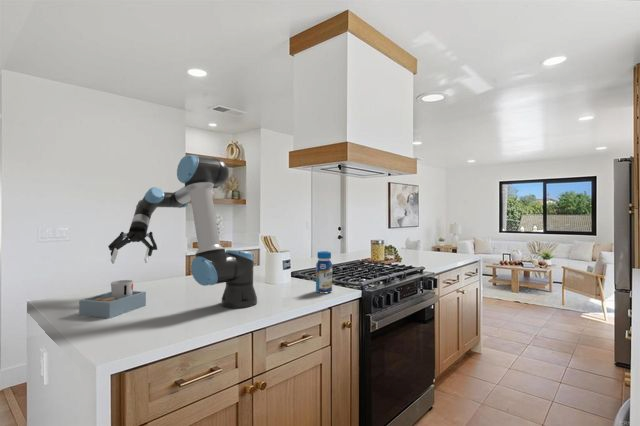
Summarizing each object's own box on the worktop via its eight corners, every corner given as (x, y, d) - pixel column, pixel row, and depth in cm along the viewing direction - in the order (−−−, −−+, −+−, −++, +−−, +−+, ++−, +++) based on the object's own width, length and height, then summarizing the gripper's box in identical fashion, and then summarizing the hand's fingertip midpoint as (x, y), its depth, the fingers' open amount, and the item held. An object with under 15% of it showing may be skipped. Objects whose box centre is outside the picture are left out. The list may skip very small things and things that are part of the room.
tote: (145, 305, 153) (145, 291, 153) (109, 318, 135) (109, 302, 135) (118, 303, 157) (118, 289, 157) (79, 315, 138) (79, 300, 138)
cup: (123, 309, 144) (123, 284, 144) (105, 308, 146) (106, 283, 146) (137, 304, 152) (137, 280, 152) (121, 303, 154) (121, 279, 154)
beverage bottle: (321, 289, 187) (322, 250, 187) (335, 291, 182) (335, 251, 182) (312, 292, 180) (312, 252, 180) (326, 294, 175) (326, 253, 175)
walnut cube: (114, 310, 143) (114, 297, 143) (104, 313, 138) (104, 300, 138) (104, 309, 144) (104, 296, 144) (93, 312, 139) (93, 299, 139)
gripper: (168, 230, 179) (160, 265, 164) (113, 231, 174) (100, 267, 160) (165, 220, 174) (157, 255, 159) (109, 220, 169) (95, 256, 155)
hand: (129, 261), depth 159 cm, fingers open, 13 cm apart
